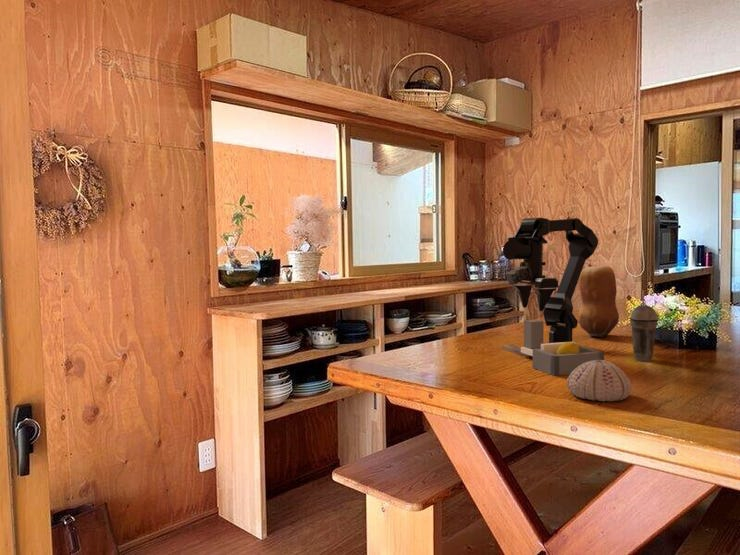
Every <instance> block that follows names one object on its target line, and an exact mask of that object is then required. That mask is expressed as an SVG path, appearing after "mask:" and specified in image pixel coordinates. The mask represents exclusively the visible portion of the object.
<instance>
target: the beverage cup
mask: <svg viewBox="0 0 740 555" xmlns="http://www.w3.org/2000/svg"><path fill="white" fill-rule="evenodd" d="M641 295H642V297H641V300H642V301H641V302H642V304H641V305H637V306H636V307H635V308H634V309H633V310H632V311H631V313H630V318H629V321H630V326H631V335H632V336H631V337H632V346H633V347H632V349H633V357H634V358H633V360H635V361H638V362H652V361H653V356H654V348H655V340H656V330H657V326H658V321H659V319H658V314H657V312H656V310H655V309H654V308H653V307H651V306H649V305H645V290H644V289H642V290H641Z"/></svg>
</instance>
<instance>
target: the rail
mask: <svg viewBox="0 0 740 555" xmlns="http://www.w3.org/2000/svg"><path fill="white" fill-rule="evenodd" d="M521 347H522V346H518V345H515V344H511V343H509V344H501V345H500V348H501V349H502V350H505V351H507V350H508V352H511V353H513V354H516V355H518V356H522V357H525V358H527V359H533V356H530V355H527V354H524V353H521Z"/></svg>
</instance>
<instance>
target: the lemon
mask: <svg viewBox="0 0 740 555" xmlns="http://www.w3.org/2000/svg"><path fill="white" fill-rule="evenodd" d="M572 342H573V341H572ZM572 342H565V343H563V344H562V345H561V346H560V347H559V348H558V350H557V353H556V355H561V354H573V353H579V348H578V346H579V345H577V343H576V344H574V343H572Z"/></svg>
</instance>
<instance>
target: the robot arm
mask: <svg viewBox="0 0 740 555" xmlns="http://www.w3.org/2000/svg"><path fill="white" fill-rule="evenodd" d="M573 231H576V232H577V233H574V232H573ZM553 232H565V240H566V241H567V242H568V244H569V245H568V251H569V255H570V256H569V258H568V261H567V264H566V267H565V269H564V272H563V274H562V277H561V280H560V283H559V280H558V279H557V278H556V277H546V275H545V274H543V273H544V272H543V267H544V266H546V264H547V263H546V262H545V261H543V260H544V259H543V255H544V254H543V252H544V251H543V247H544V246H543V244H545V245H546V244H548V240H546V239H545V238H544V236H547V235H549V234H550V233H553ZM598 244H599V239H598V236H596V234H595V233H594V231H593V229H591V227H590V228H589V227H588V226H587V225H585V223H583V222H582V220H581V219H580V218H577V217H569V218H567V217H566V218H565V219H563V218H562V219H549V218H545V217H526V218H523V219H522V220H521V223H520V225H519V227H518V228H517V229H516V231H515V234H514V236H508V237H507V240H506V242H505V243H504V244H503V248H502V254H503V256H504V258H505V259H506V260H510V261H511V260H514V261H515V260H523V261H520V263H519V267H517V268H514V269H512V270H510V271H507V272H505V277H506V280H507V283H508V284H509V285H511V287H512V288H514V289H515V290H516V291H517V293H518V297H519V300H520V303H521V305H522V308H524V309H525V308H527V307H528V304H529V300H530V296H531V291H532V288H533V286H534V288H533V290H534V291H535V293H536V294H537V303H538V304H537V305H538V311H539V312H542V311H543V312H542V314H543V319H544V322H545V326H546V327H547V326H548V327H549V332H548V343H560V342H573V329H575V328H577V327H578V324H579V320H578V319H577V317H576V316H575V315H574V313H573V310H574V306H573V302H572V299H573V295H574V293H575V290H576V287H577V285H578V283H579V277H580V274H581V272H582V270H583V269H584V265H585V264H586V260H588V259H589V258H590V257H592V256H593V255H594V253H595V252H596V249H597V248H598ZM557 288H558V289H557ZM556 289H557V290H556ZM554 291H556V294H554V295H553V296H552V294H553V293H554Z"/></svg>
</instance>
